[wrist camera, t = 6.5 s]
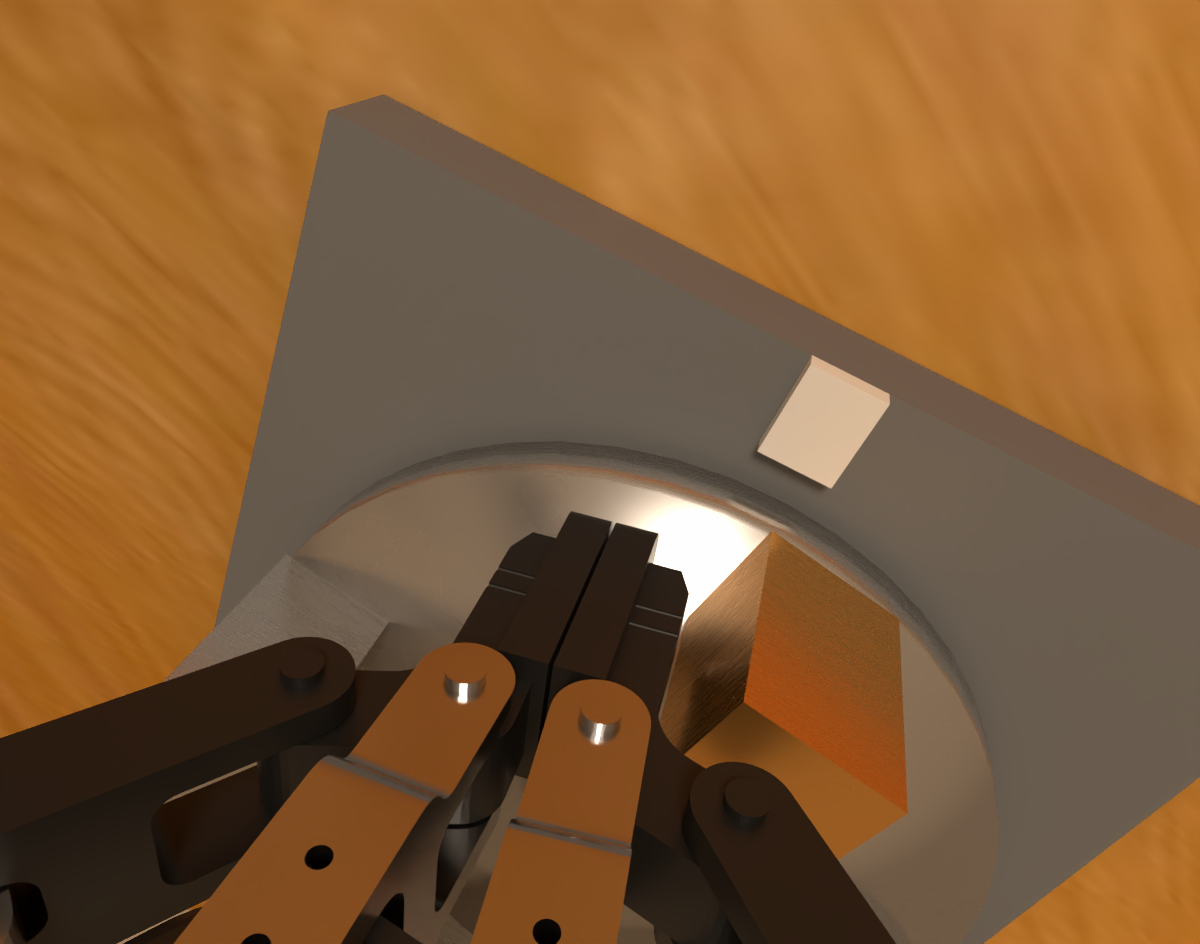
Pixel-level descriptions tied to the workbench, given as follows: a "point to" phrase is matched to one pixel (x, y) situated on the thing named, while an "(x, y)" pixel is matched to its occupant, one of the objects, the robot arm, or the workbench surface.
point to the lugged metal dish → (682, 654)
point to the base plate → (737, 454)
